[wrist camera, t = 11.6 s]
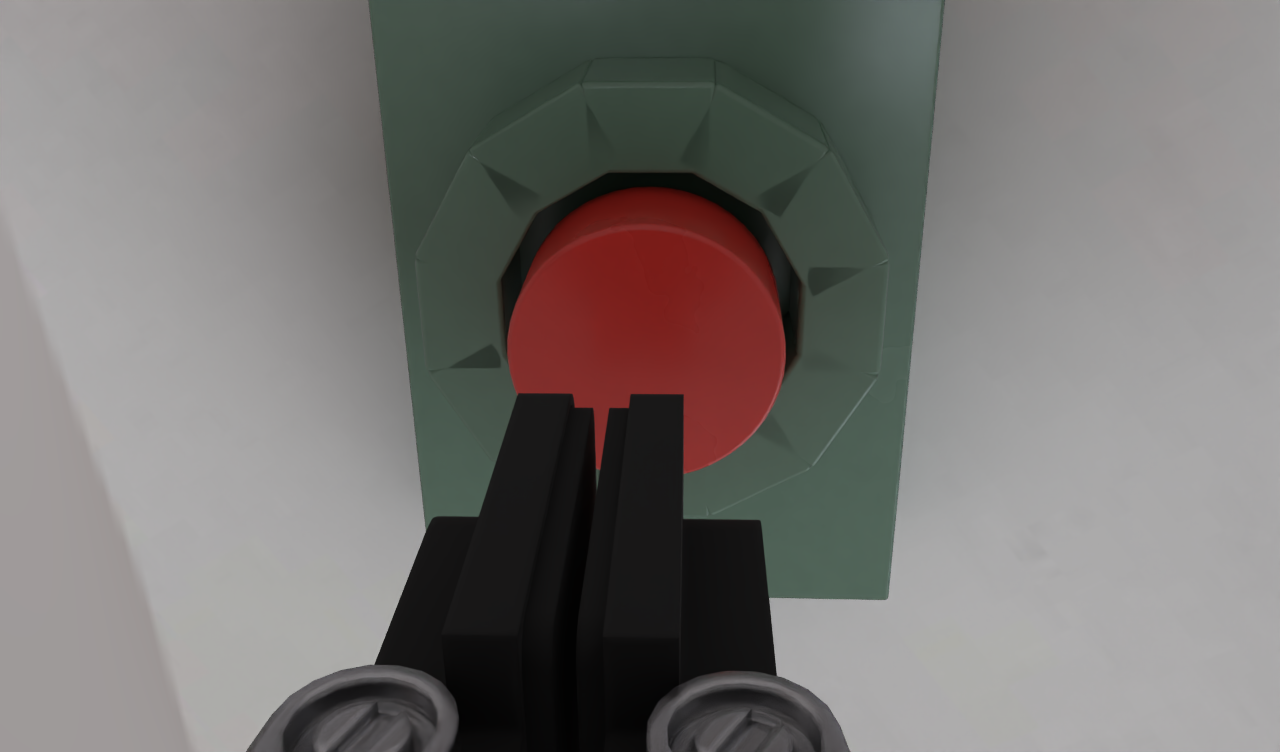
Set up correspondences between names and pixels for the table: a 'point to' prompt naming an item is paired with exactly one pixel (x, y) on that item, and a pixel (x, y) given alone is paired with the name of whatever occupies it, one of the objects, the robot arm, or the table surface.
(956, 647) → the table surface
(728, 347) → the button
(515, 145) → the button box
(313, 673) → the table surface
